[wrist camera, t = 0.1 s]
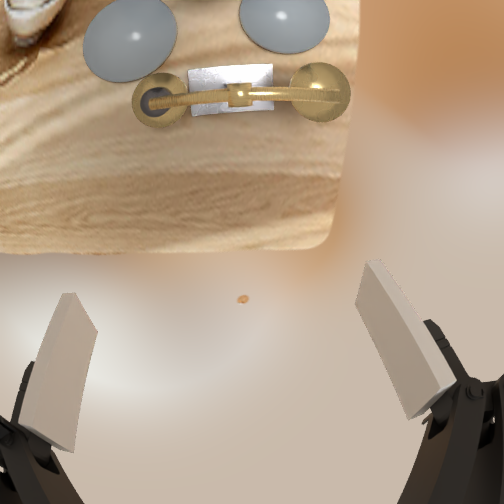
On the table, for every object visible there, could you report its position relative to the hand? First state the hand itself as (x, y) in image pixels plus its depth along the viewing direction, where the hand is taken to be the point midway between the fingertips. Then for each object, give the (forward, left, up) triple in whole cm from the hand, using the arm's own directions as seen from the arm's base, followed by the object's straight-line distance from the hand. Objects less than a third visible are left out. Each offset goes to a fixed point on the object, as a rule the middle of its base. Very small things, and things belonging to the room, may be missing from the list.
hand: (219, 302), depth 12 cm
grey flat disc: (-16, -9, -28) cm, 33 cm away
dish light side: (-17, +10, -28) cm, 34 cm away
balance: (-7, +3, -28) cm, 29 cm away
